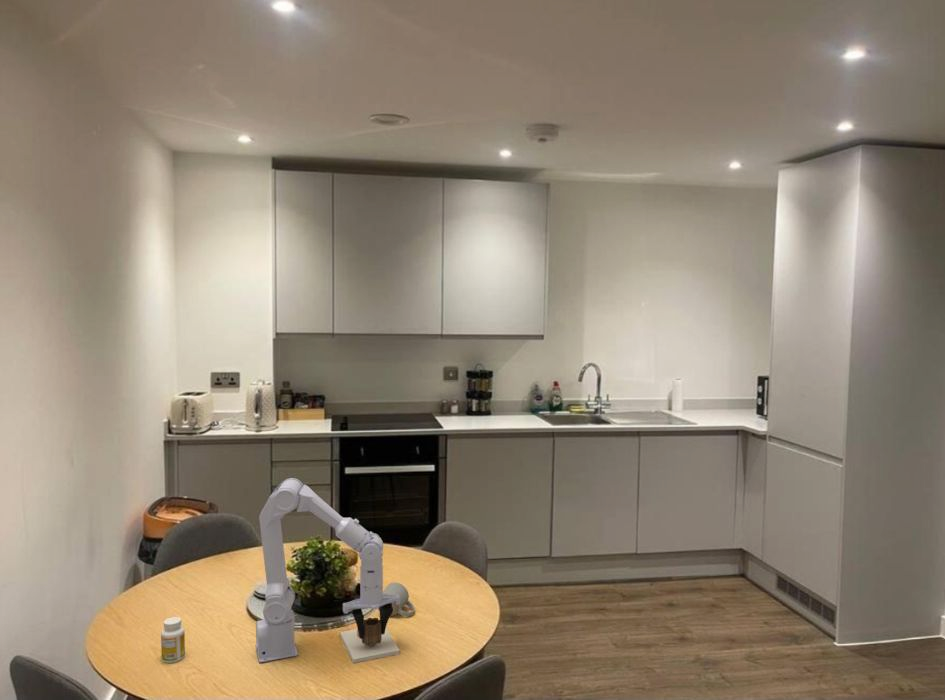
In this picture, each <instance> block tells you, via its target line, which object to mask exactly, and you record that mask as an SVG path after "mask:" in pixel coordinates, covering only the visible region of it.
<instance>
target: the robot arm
mask: <svg viewBox="0 0 945 700" xmlns="http://www.w3.org/2000/svg"><path fill="white" fill-rule="evenodd" d="M296 508H297V510H296V513H302V512H310V513H311V514H313V515H315V516H316V517H318V518H319V519H320V520H321V521H323V522H325V523H326V524H328V525H329V526H330V527H331V528H333V529H334V531H335V537H337V538H338V539H340V540H341V542H343V543H344V544H346V546H348V547H350V548H351V550H353V551H354V552H356V553H358V556H359V557H358V558H359V559H360V564H361V565H360V567H359V568H360V570H359V571H360V572H359V575H360V577H359V578H360V581H359V584H360V585H359V586H360V589H359V591H360V592H359V593H360V595H359V598H356V599H353V600H351V601H348V602H343V603H342V612H343V614H346V615H347V614H349V613H351V614H352V617H353V619H354V621H355V624H356V629H357V628H358V633H359V637H360V639H362V638H363V621H364V620H365V616H364V614H363V610H367V609H370V610H377V609H379V610H380V611H379V610H378V611H379V620H381V621H382V630H381V634H382V635H383V634H385V629H387V625H388V622H389V619H390V617H392V616H391V614H392V612H393V607H392V604H396V605H398V604H400V597H399V595H398V594H395V595H383V591H384V590H383V589H384V584H383V583H384V566H383V555H384V552H383V551H384V542H383V540H382V538H381V537H380V535H379V534H377V533H374V532H373V531H368V530H367V529H366V528H365V527H363V526H362V525H361V524H359V523H360V520H359V519H357V518H354V519H353V518H352V517H344V516H342V515H340V514H339V512H337V511H336V510H334V508H332V506H331V505H329V504H328V503H327V502H326V501H324V499H322V498H321V497H320V496H319V495H317V493H316V492H315V491H314V490H312V489H311V488H310V486H308V485H307V484H303V483H302V481H300V479H298V478H293V477H291V478H289V477H288V478H286V479H285V480H283V481H282V482H281V483H280V484H278V485H277V487H276V488H275V489H274V490H273V492H272V493H271V494H270V496H269V497H268V499H267V501H266V502H265V505H264V507H263V508H262V509H261V512H260V514H259V517H258V519H259V520H258V521H259V528H260V536H261V545H262V554H263V562H264V571H265V579H266V580H265V581H266V588H265V594H264V595H265V598H264V599H265V605H264V607H263V610H262V614H263V618H262V619H260V620H257V621H256V623H255V651H256V654H257V660H258V663H259V664H260V663H265V662H271V661H276V660H281V659H286V658H287V659H288V658H292V657H297V656H299V652H298V648H297V646H296V643H295V613H294V611H293V610H292V606H293V604H294V602H295V600H296V594H295V591H294V590H293V588H292V586H291V581H290V580H289V578H288V574H287V567H286V556H285V549H284V540H283V531H282V521H281V520H282V518H283V517H284V516H285V515H287V514H289V513H291V512H292V511H294V510H295V509H296Z"/></svg>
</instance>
